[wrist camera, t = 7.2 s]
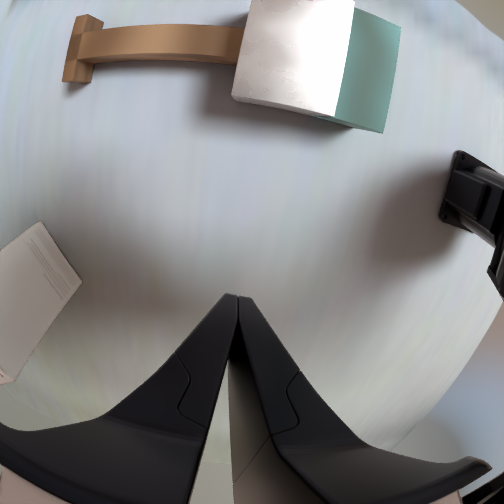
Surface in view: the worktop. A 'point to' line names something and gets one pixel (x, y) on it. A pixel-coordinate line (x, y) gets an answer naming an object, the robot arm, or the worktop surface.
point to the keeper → (294, 55)
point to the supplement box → (30, 295)
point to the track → (227, 52)
